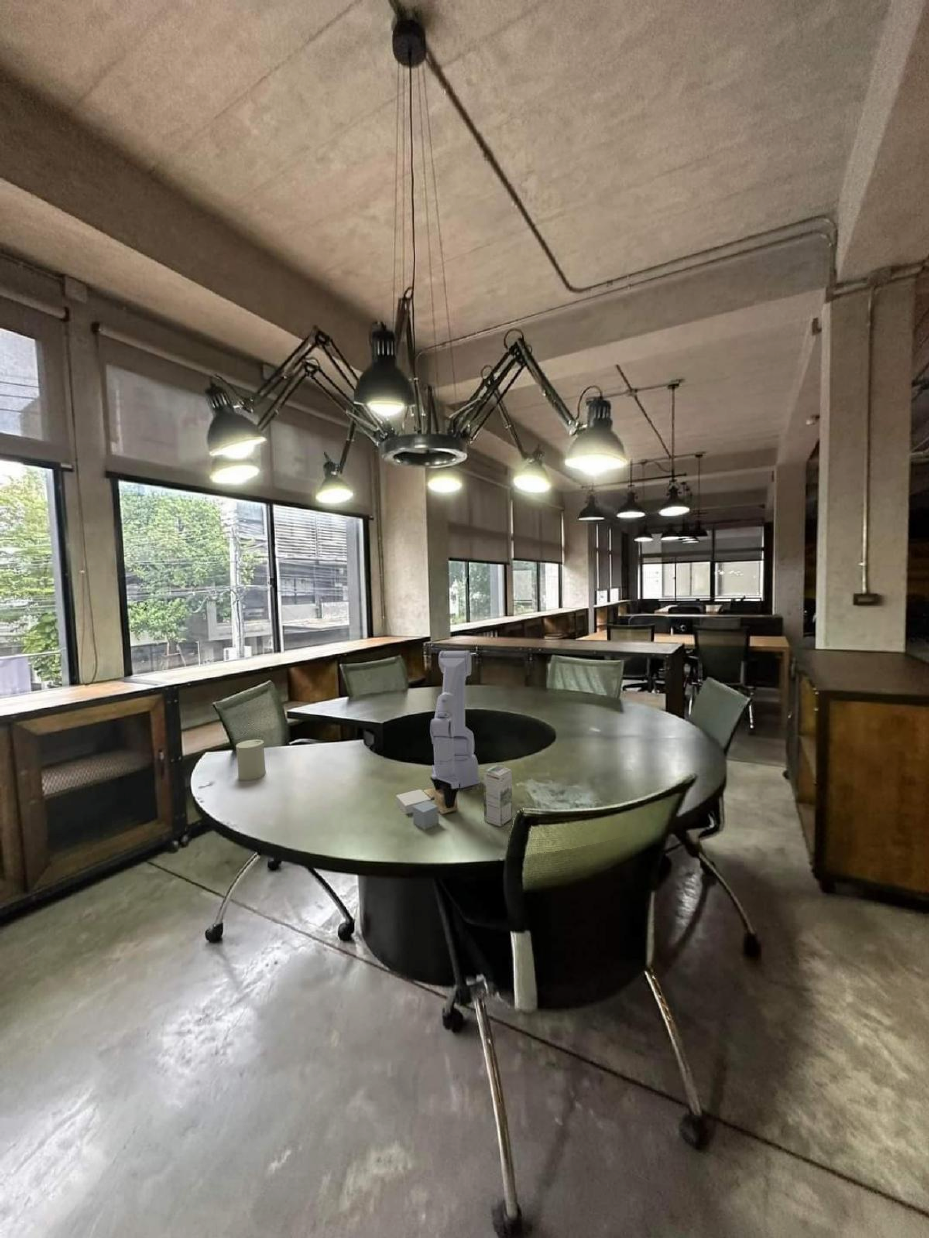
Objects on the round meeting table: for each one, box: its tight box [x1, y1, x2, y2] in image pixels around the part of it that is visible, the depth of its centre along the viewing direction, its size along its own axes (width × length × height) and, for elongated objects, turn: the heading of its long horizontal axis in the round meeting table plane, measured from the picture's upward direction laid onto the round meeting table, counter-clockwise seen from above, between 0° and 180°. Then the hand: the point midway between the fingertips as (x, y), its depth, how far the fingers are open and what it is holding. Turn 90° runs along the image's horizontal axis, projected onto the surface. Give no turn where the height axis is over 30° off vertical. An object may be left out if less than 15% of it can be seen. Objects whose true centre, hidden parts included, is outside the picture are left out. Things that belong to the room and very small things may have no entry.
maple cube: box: [434, 789, 459, 815], centre depth 143 cm, size 5×5×5 cm
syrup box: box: [482, 765, 513, 828], centre depth 136 cm, size 6×6×14 cm
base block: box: [395, 788, 432, 815], centre depth 147 cm, size 8×8×3 cm
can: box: [235, 738, 267, 781], centre depth 175 cm, size 9×9×12 cm
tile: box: [422, 787, 435, 801], centre depth 155 cm, size 7×7×1 cm
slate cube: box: [412, 801, 440, 831], centre depth 136 cm, size 5×5×5 cm
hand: (445, 803), depth 143 cm, fingers closed on maple cube, 5 cm apart
